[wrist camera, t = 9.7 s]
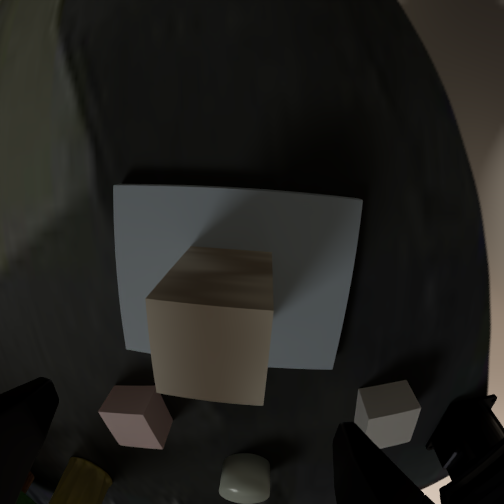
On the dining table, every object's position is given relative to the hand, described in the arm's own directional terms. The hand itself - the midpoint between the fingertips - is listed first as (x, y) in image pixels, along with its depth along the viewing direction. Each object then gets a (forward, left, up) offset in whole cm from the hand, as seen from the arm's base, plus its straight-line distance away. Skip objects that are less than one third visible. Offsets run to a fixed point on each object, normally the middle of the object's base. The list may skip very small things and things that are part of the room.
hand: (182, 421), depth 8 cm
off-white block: (-12, +10, -12) cm, 20 cm away
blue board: (0, 0, -12) cm, 12 cm away
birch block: (0, 0, -10) cm, 10 cm away
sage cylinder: (-2, +19, -12) cm, 22 cm away
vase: (+17, +28, -12) cm, 35 cm away
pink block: (+7, +12, -12) cm, 18 cm away
